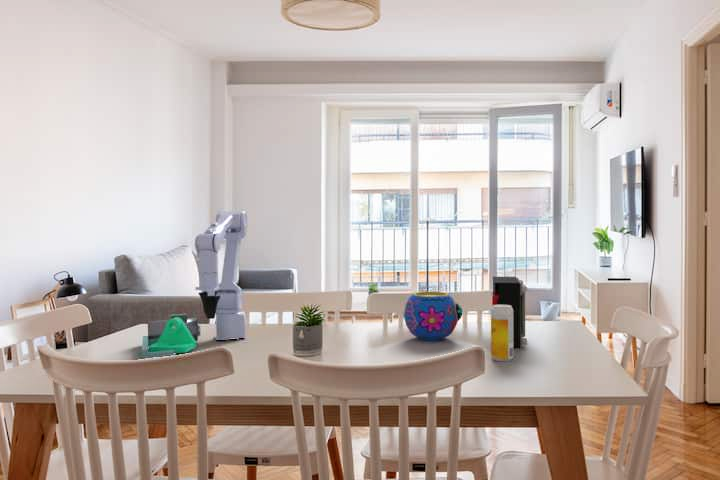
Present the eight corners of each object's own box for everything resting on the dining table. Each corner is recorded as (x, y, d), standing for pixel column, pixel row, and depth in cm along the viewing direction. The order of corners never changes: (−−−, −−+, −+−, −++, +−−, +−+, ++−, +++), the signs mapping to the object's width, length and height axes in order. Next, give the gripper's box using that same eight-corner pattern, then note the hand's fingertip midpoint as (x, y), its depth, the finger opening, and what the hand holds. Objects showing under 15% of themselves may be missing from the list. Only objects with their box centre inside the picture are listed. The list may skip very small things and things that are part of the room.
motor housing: (199, 339, 189) (198, 311, 189) (201, 344, 182) (200, 315, 181) (148, 343, 184) (147, 314, 183) (148, 348, 176) (147, 318, 176)
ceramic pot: (468, 342, 179) (468, 295, 178) (417, 347, 173) (416, 298, 173) (444, 332, 195) (443, 289, 195) (396, 336, 190) (395, 291, 189)
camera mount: (147, 355, 168) (146, 321, 168) (159, 349, 176) (158, 317, 175) (185, 356, 167) (185, 321, 166) (196, 350, 174) (195, 317, 174)
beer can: (497, 355, 162) (496, 303, 161) (517, 358, 158) (516, 305, 157) (487, 359, 157) (487, 306, 156) (507, 363, 153) (507, 308, 152)
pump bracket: (171, 346, 180) (171, 333, 179) (174, 361, 160) (173, 347, 160) (143, 348, 177) (142, 336, 176) (142, 364, 157) (141, 350, 157)
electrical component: (527, 349, 168) (527, 283, 168) (492, 348, 171) (492, 282, 170) (522, 337, 186) (522, 276, 185) (491, 336, 188) (490, 276, 187)
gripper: (193, 271, 178) (194, 313, 178) (196, 275, 164) (198, 321, 165) (216, 270, 180) (217, 312, 181) (221, 274, 167) (222, 319, 167)
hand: (209, 316), depth 173 cm, fingers open, 7 cm apart
